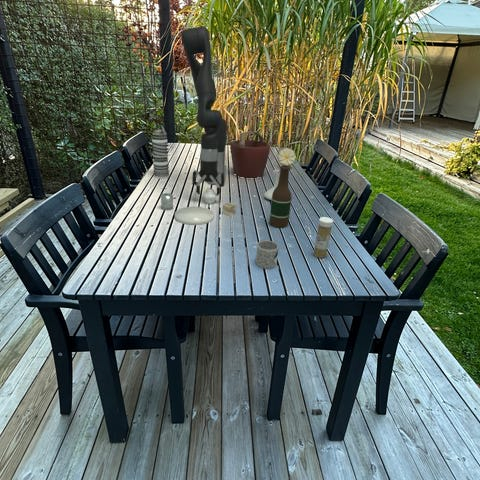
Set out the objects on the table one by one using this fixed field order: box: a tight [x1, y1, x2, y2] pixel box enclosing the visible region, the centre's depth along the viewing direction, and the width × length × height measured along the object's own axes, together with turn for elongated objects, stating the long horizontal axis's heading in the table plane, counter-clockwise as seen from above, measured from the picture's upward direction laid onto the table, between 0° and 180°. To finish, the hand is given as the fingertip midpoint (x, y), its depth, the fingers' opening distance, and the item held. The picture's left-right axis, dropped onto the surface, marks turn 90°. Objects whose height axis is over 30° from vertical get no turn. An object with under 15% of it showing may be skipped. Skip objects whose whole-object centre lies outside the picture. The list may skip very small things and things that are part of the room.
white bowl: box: [174, 206, 215, 226], centre depth 139 cm, size 16×16×2 cm
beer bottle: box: [269, 164, 292, 229], centre depth 132 cm, size 8×8×24 cm
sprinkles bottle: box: [312, 216, 334, 259], centre depth 112 cm, size 5×5×13 cm
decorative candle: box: [150, 129, 170, 180], centre depth 183 cm, size 9×9×25 cm
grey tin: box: [160, 192, 174, 211], centre depth 145 cm, size 5×5×6 cm
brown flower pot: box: [229, 130, 271, 178], centre depth 195 cm, size 24×22×25 cm
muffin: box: [202, 188, 218, 205], centre depth 154 cm, size 6×6×7 cm
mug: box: [255, 239, 280, 270], centre depth 108 cm, size 10×7×7 cm
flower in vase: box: [263, 147, 297, 201], centre depth 159 cm, size 13×11×25 cm
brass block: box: [221, 202, 237, 217], centre depth 144 cm, size 4×4×4 cm
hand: (208, 194), depth 153 cm, fingers open, 8 cm apart
